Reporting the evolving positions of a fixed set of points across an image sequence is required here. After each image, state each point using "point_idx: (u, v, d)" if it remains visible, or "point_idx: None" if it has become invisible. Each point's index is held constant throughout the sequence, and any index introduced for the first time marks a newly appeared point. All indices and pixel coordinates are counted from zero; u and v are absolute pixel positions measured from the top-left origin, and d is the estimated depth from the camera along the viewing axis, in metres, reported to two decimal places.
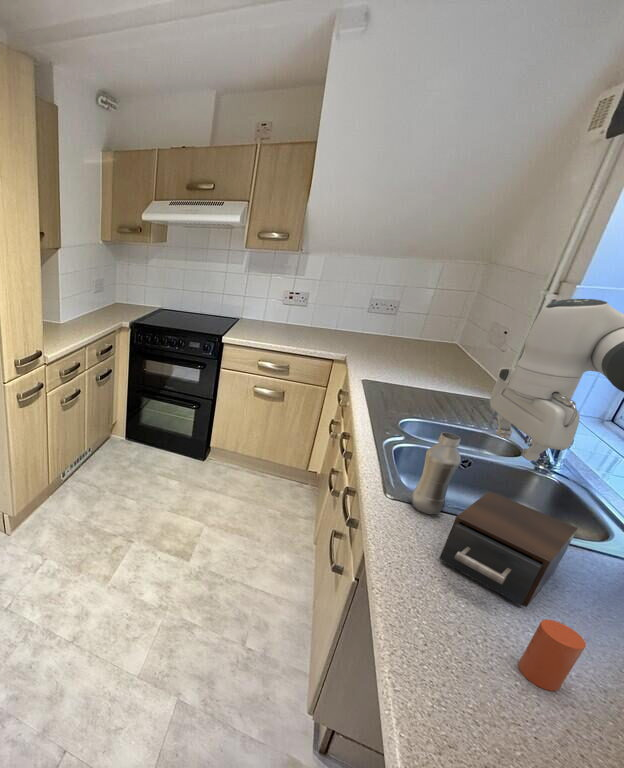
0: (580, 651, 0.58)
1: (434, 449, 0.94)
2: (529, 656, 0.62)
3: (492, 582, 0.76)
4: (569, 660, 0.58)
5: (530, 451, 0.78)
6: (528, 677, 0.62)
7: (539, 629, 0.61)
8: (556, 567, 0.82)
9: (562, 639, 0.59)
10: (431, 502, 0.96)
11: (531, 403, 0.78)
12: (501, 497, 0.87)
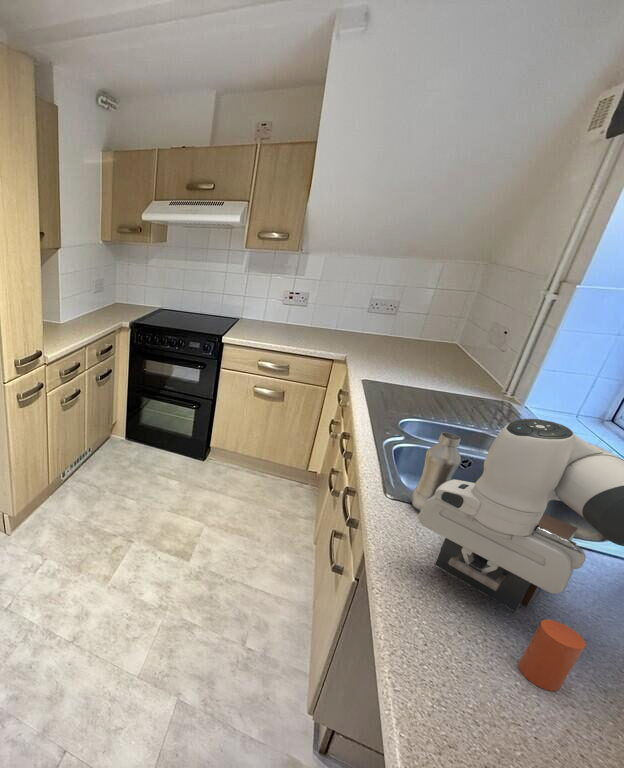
0: (580, 651, 0.58)
1: (434, 449, 0.94)
2: (529, 656, 0.62)
3: (486, 588, 0.75)
4: (569, 660, 0.58)
5: (487, 572, 0.72)
6: (528, 677, 0.62)
7: (539, 629, 0.61)
8: None
9: (562, 639, 0.59)
10: None
11: (510, 538, 0.68)
12: None
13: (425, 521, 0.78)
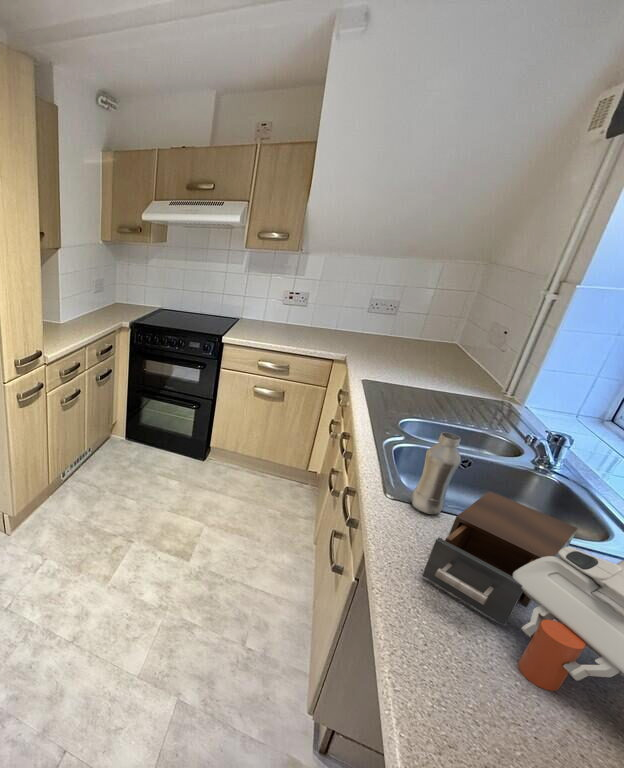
0: (580, 651, 0.58)
1: (434, 449, 0.94)
2: (529, 656, 0.62)
3: (474, 601, 0.73)
4: (569, 660, 0.58)
5: (588, 670, 0.57)
6: (528, 677, 0.62)
7: (539, 629, 0.61)
8: None
9: (562, 639, 0.59)
10: (431, 502, 0.96)
11: None
12: (501, 497, 0.87)
13: (521, 577, 0.67)
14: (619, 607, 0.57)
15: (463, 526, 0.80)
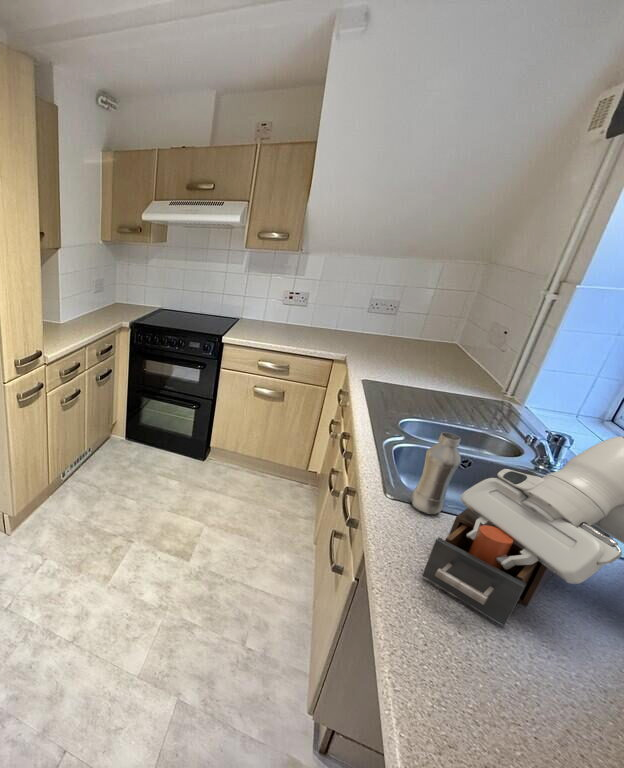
0: (508, 545, 0.71)
1: (434, 449, 0.94)
2: None
3: (474, 601, 0.73)
4: (500, 554, 0.72)
5: (514, 560, 0.70)
6: None
7: (478, 532, 0.74)
8: None
9: (495, 537, 0.72)
10: (431, 502, 0.96)
11: (551, 521, 0.69)
12: None
13: (468, 496, 0.81)
14: (540, 509, 0.70)
15: (463, 526, 0.80)
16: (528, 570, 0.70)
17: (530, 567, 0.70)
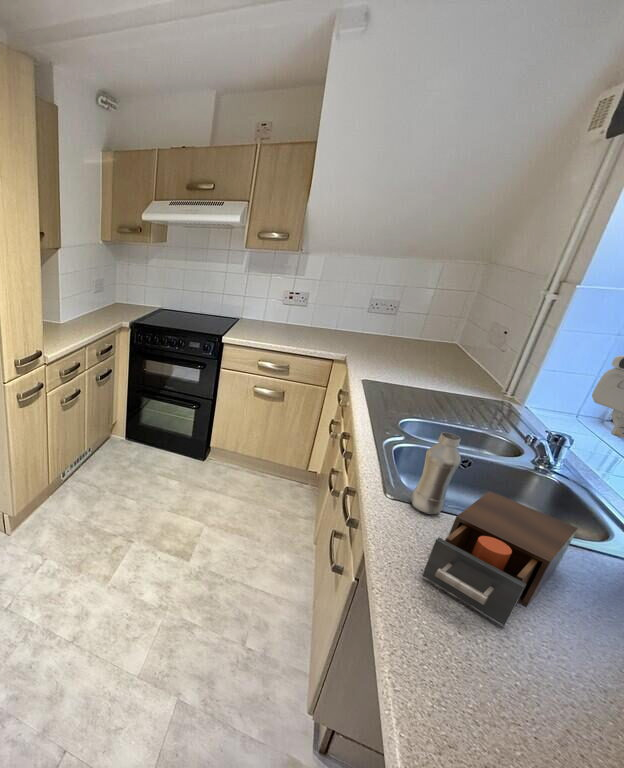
0: (506, 557, 0.71)
1: (434, 449, 0.94)
2: None
3: (474, 601, 0.73)
4: (498, 564, 0.72)
5: None
6: None
7: (476, 542, 0.75)
8: (556, 567, 0.82)
9: (492, 548, 0.72)
10: (431, 502, 0.96)
11: None
12: (501, 497, 0.87)
13: (599, 397, 0.75)
14: None
15: (463, 526, 0.80)
16: (528, 570, 0.70)
17: (530, 567, 0.70)
